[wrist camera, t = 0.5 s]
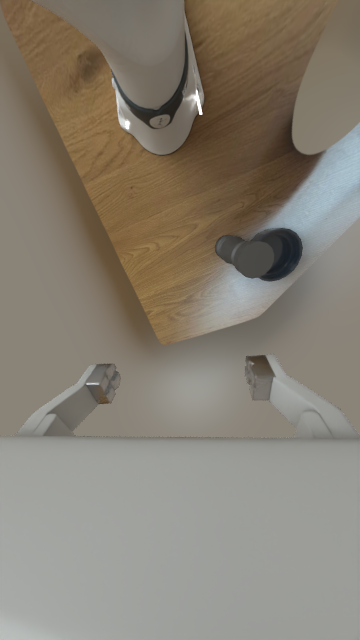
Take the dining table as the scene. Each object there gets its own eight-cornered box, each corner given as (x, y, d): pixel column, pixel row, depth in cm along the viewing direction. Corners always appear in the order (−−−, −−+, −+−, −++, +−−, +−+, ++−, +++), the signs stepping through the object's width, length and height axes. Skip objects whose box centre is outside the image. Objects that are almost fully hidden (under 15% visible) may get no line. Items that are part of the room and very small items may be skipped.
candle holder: (241, 247, 50) (283, 261, 28) (223, 262, 52) (250, 287, 30) (228, 229, 48) (262, 229, 26) (210, 246, 50) (228, 259, 28)
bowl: (243, 233, 49) (249, 234, 44) (293, 223, 47) (305, 223, 42) (244, 279, 54) (250, 284, 50) (289, 272, 53) (299, 276, 48)
